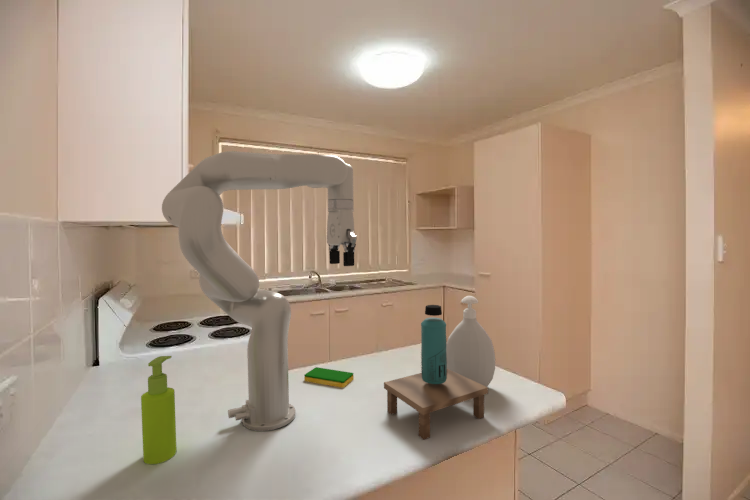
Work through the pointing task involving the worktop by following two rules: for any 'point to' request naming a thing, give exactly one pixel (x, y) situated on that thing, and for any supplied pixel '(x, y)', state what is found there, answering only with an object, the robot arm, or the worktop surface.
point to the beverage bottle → (433, 347)
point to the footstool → (434, 396)
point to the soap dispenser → (158, 416)
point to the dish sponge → (329, 377)
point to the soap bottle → (471, 348)
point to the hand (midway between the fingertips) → (341, 264)
